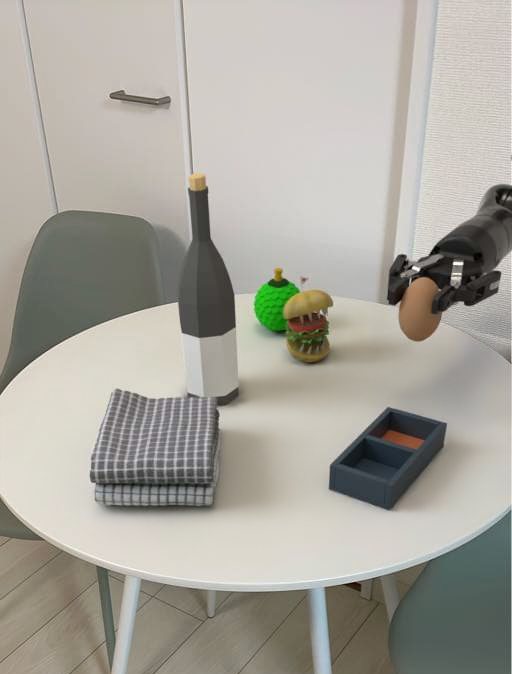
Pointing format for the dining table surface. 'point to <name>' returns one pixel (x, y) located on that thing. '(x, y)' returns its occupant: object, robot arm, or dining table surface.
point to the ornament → (274, 301)
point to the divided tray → (387, 457)
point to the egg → (419, 310)
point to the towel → (157, 451)
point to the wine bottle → (206, 309)
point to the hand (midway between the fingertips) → (413, 301)
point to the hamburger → (307, 324)
